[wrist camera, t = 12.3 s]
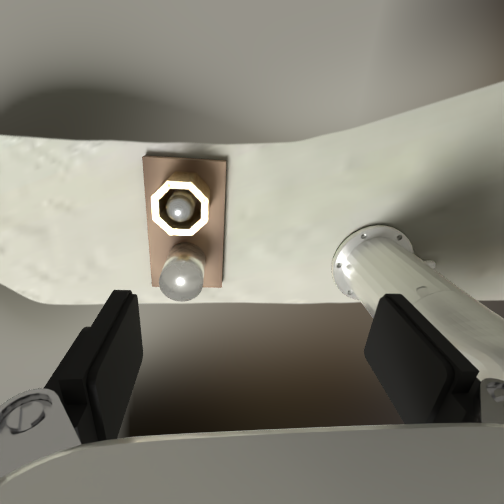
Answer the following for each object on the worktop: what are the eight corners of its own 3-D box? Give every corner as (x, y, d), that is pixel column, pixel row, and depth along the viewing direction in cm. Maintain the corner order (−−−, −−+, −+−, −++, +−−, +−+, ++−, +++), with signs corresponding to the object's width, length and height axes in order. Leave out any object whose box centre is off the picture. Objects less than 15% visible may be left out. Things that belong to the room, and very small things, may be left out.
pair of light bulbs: (206, 185, 37) (203, 199, 31) (205, 276, 43) (202, 303, 36) (164, 183, 37) (152, 197, 31) (168, 275, 42) (159, 303, 36)
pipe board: (226, 160, 38) (226, 162, 36) (221, 282, 45) (221, 287, 44) (145, 155, 37) (142, 156, 35) (154, 281, 44) (152, 286, 43)
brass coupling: (210, 173, 37) (208, 183, 31) (209, 219, 39) (207, 236, 34) (160, 170, 36) (149, 179, 31) (162, 217, 39) (153, 234, 33)
